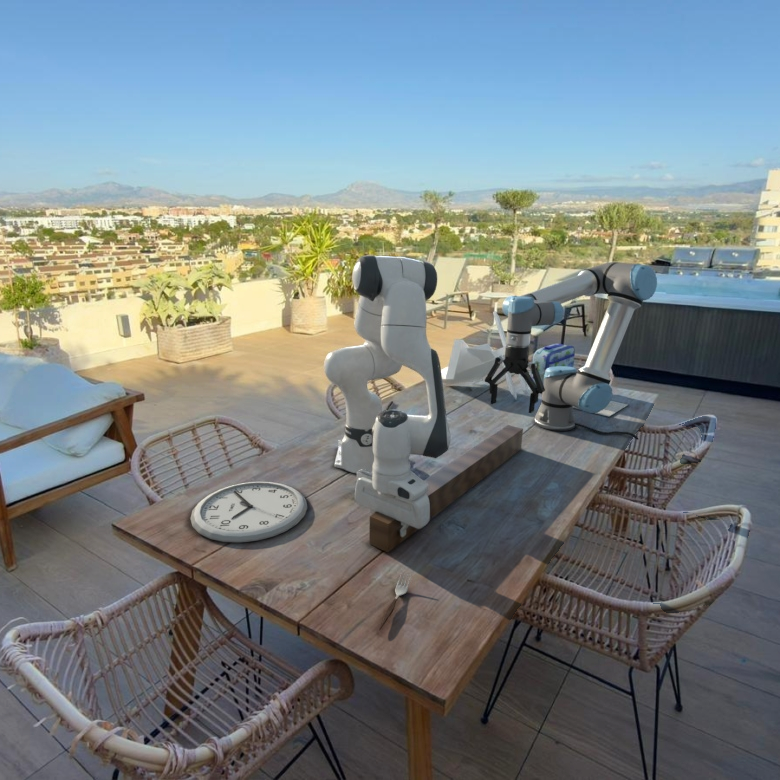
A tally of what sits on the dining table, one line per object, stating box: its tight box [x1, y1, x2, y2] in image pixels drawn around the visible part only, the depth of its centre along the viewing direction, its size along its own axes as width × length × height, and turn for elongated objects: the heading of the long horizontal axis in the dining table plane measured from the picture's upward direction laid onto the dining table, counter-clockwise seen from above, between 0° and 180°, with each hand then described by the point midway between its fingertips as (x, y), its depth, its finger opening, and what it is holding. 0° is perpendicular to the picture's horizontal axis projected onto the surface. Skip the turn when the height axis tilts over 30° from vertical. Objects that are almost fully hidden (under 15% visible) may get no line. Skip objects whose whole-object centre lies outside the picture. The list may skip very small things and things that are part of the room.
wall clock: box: [190, 481, 308, 544], centre depth 139 cm, size 30×2×30 cm
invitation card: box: [573, 400, 629, 418], centre depth 226 cm, size 21×1×15 cm
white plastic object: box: [441, 310, 531, 400], centre depth 245 cm, size 37×45×31 cm
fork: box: [379, 571, 412, 631], centre depth 105 cm, size 3×16×2 cm, turn 160°
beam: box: [369, 424, 524, 553], centre depth 152 cm, size 77×6×8 cm, turn 143°
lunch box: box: [530, 343, 576, 384], centre depth 249 cm, size 26×11×21 cm, turn 134°
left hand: (390, 530), depth 127 cm, fingers closed on beam, 5 cm apart
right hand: (511, 407), depth 175 cm, fingers open, 13 cm apart
